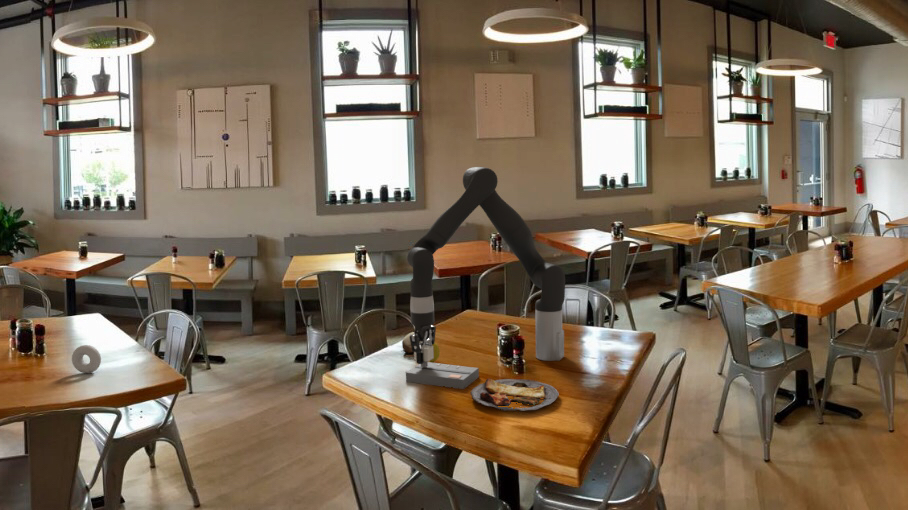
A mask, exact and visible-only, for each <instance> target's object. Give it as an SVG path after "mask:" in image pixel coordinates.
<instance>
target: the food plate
mask: <svg viewBox="0 0 908 510" xmlns="http://www.w3.org/2000/svg"><path fill="white" fill-rule="evenodd" d="M469 394H470V396H471V398H472V400H473V401H475V403H477V404H481V405H482V406H487V407H493V408H495V409H498V410H500V409H501V411H503V412H505V411H513V412H514V411H517V410H518V411H536V410H539V409H541V408H543V407H545V406H548V405H551V404H552V403H553V402H555V401H556V400H557V399H558V397H559V394H560V393H559V391H558V390H557V389H556V388H555V387H554V386H552V385H550V384H547V383H544V382H540V381H538V380H534V379H524V378H522V379H519V378H517V379H515V378H513V379H512V378H503V379H501V378H500V379H496V380H494V379H493V378H487V379H486V380H485V382H483V383H480V384H478V385H476V386H475V387H474V388H472V390H470V393H469ZM507 396H513V397H514V399H510V400H509V399H508V397H507ZM540 398H544V399H543V400H544V401H543V400H542V401H543V402H541V403H540V401H541V399H540ZM511 402H518V403H522V404H529V405H528V406H530V405H534V406H530V407H522V408H519V407H515V409H513V407H511V408H508V407H498V406H509V405H510V404H511ZM538 403H539V404H538ZM516 404H517V403H516ZM535 404H538V405H535Z"/></svg>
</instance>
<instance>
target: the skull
mask: <svg viewBox="0 0 908 510" xmlns="http://www.w3.org/2000/svg"><path fill="white" fill-rule="evenodd" d="M413 334H414V332H413V331H412V332H410V333H407V334H406V335H405V336H404V338H402V342H401V343H402V352H403V353H404V356H405V357H408V358H409V357H410V358H414V352H412V348H411V342H410V335H413ZM419 343H422V342H421V341H419Z"/></svg>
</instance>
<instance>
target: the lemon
mask: <svg viewBox="0 0 908 510" xmlns="http://www.w3.org/2000/svg"><path fill="white" fill-rule="evenodd" d="M432 346H433V351H434V358H433V359H432V360H430V361H428V362H431V363H435V361H437V360H438V359H439V357H440V352H441V351H440V347H439V345H438V343H436V342H435V343H434V344H432Z"/></svg>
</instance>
